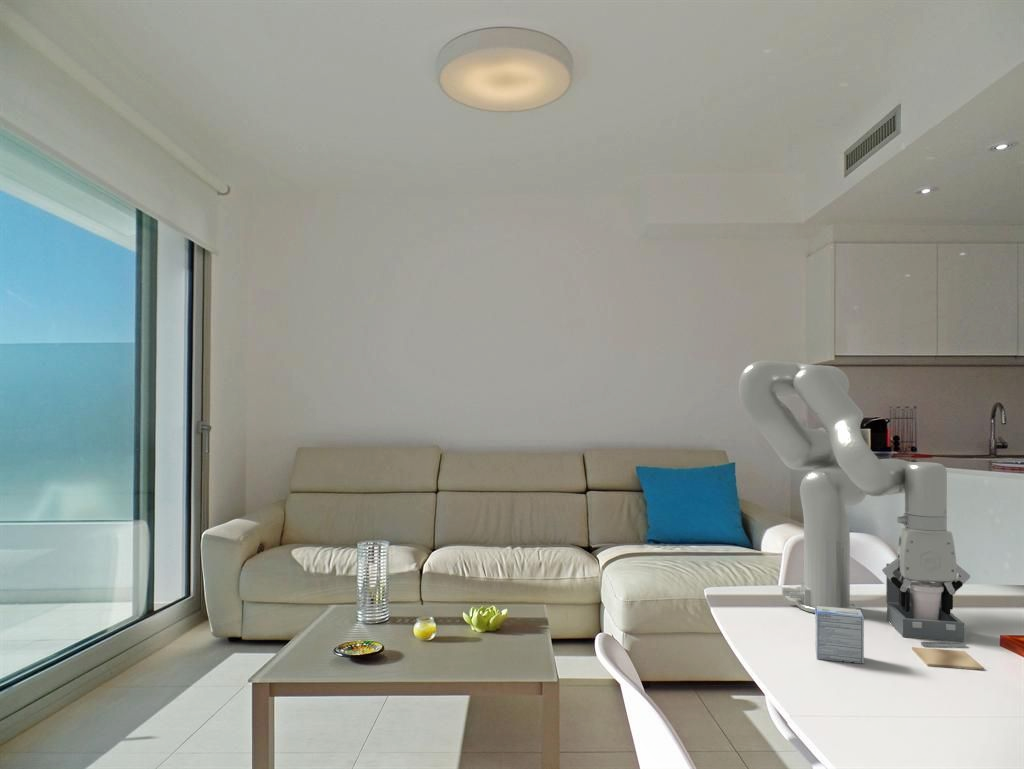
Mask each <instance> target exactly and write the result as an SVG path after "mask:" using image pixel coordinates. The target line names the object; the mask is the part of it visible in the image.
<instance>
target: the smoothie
mask: <svg viewBox="0 0 1024 769" xmlns="http://www.w3.org/2000/svg"><path fill="white" fill-rule="evenodd" d="M908 588H910V595H911V602H912V609H913V617H914V619H924V620H938V615H939V608H940V601H941V594H942V592H943V591H944V590H943V585H941V584H939V583H935V582H927V581H912V582H911V583H910V585H909V587H908Z"/></svg>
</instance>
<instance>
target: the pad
mask: <svg viewBox="0 0 1024 769" xmlns="http://www.w3.org/2000/svg"><path fill="white" fill-rule="evenodd" d="M911 650H912V651H913V652H914V653H915V655H917V656H918V657H919V659H920V660H921V661H922V662H923V661H924V662H923V663H924V664H925V665H926V666H927V667H938V668H949V669H951V668H952V669H961V668H964V670H965V669H966V670H974V669H979V670H978V671H985V668H984V666H983V665H981V664H980V663H979V662H978V661H977V660H976V659H975V658H973V657H972V656H971V655H970V654H969V653H968V652H967V651H965V650H953V649H940V648H931V647H915V646H912V647H911ZM950 667H951V668H950Z"/></svg>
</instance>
